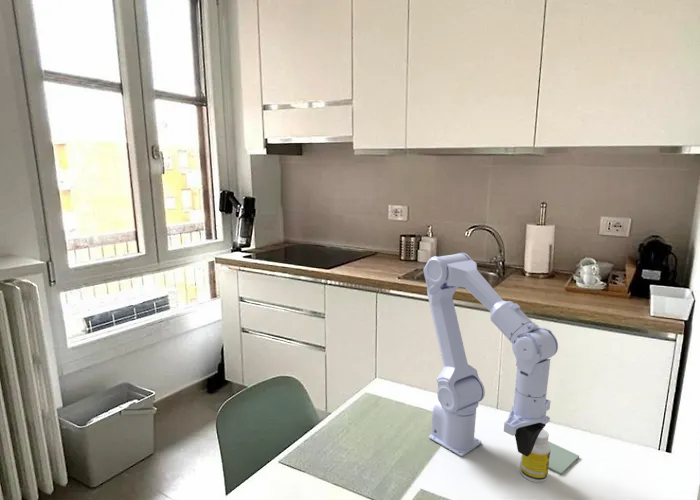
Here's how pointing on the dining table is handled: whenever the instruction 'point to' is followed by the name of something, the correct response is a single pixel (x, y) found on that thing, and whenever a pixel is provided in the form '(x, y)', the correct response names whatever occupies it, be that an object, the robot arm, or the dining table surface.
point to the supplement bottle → (537, 459)
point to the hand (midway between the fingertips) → (524, 452)
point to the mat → (560, 459)
